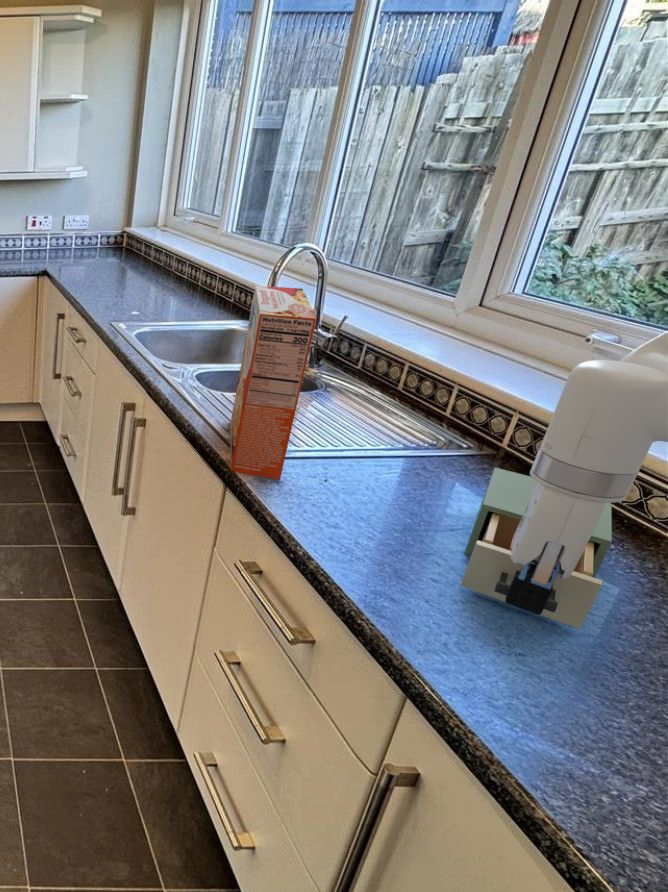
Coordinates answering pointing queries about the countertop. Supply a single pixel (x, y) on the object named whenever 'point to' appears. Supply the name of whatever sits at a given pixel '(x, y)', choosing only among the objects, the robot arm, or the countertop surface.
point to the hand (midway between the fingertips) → (522, 605)
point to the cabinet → (511, 499)
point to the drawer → (496, 570)
